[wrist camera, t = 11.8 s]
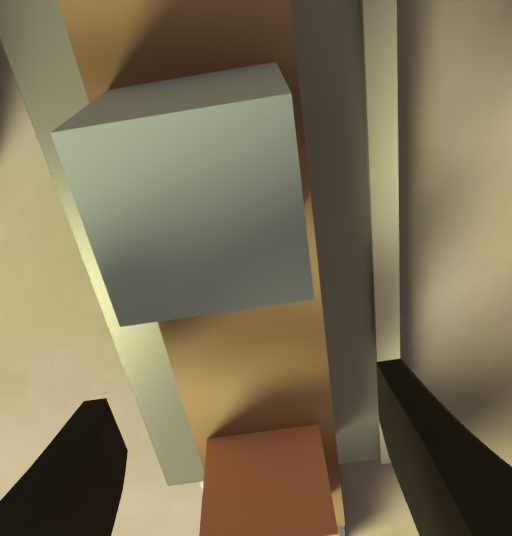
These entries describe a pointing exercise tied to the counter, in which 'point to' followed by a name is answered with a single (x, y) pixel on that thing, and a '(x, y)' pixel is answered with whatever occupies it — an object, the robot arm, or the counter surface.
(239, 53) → the board
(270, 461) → the block
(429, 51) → the counter surface
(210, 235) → the block
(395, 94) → the dock
